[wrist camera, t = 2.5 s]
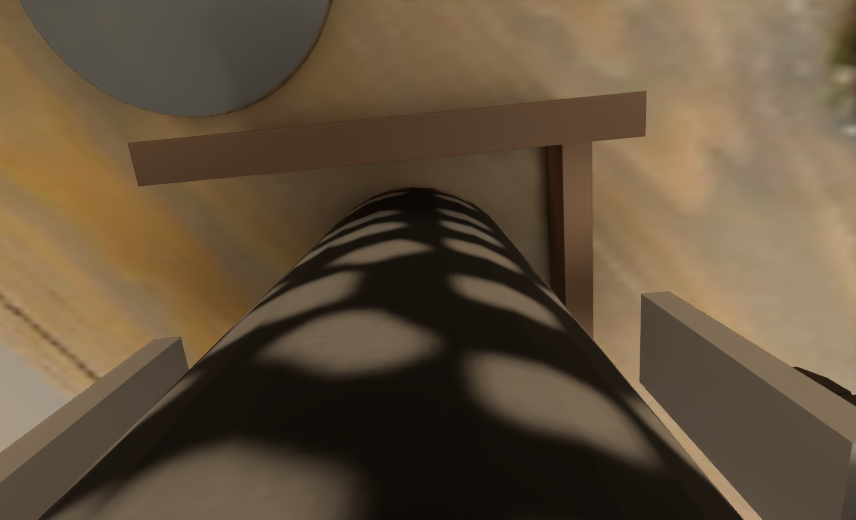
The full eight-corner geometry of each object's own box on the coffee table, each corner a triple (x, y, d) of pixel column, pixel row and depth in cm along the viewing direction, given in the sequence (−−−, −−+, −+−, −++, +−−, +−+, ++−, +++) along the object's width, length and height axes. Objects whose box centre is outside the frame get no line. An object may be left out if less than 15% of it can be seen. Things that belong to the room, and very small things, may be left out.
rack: (241, 141, 18) (127, 143, 11) (572, 107, 17) (668, 88, 11) (299, 438, 21) (239, 583, 14) (577, 413, 21) (652, 548, 14)
